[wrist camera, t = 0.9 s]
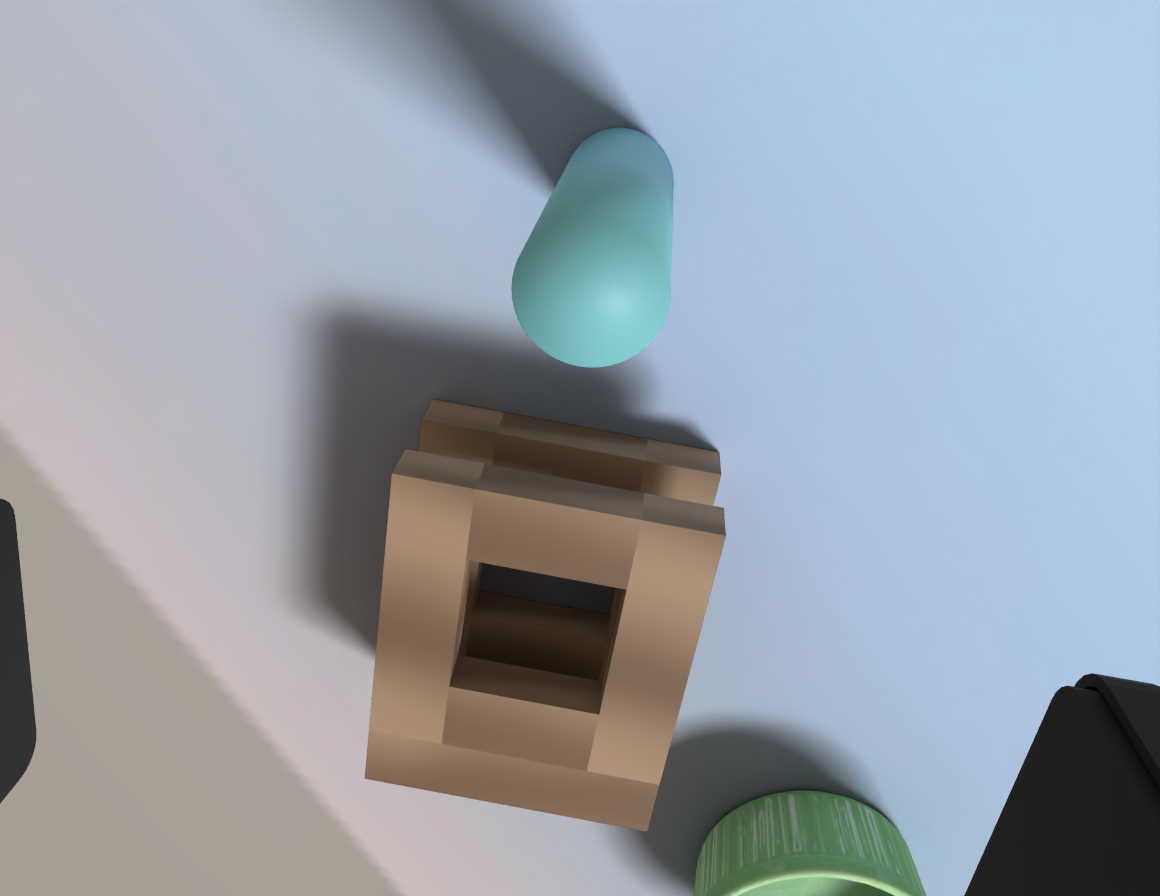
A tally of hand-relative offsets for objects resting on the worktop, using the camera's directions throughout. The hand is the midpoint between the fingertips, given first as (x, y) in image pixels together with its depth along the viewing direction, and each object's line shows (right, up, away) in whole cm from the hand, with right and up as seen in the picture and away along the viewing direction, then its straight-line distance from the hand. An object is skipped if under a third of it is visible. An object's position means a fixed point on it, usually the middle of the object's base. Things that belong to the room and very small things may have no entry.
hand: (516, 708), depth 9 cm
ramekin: (+9, -13, +30) cm, 34 cm away
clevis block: (0, -1, +24) cm, 24 cm away
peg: (+2, +10, +19) cm, 21 cm away
